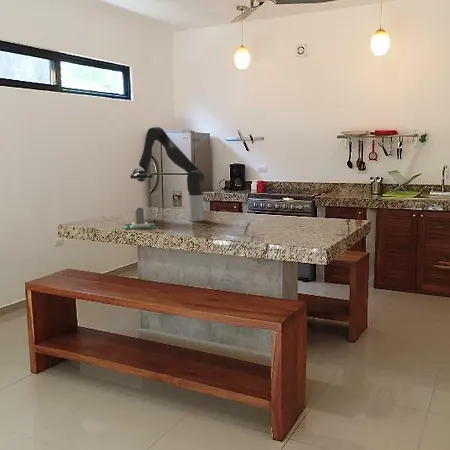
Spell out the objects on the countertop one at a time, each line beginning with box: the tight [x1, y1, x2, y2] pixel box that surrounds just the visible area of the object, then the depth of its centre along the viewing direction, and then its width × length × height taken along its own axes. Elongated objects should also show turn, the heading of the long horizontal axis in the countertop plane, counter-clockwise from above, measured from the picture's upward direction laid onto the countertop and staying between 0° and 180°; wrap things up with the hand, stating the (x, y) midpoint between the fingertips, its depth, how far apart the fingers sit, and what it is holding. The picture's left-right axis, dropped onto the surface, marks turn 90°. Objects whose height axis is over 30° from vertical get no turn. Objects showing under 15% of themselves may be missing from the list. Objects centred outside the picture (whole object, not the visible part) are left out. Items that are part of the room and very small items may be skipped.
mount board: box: [124, 221, 156, 230], centre depth 314 cm, size 18×14×3 cm
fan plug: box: [134, 207, 145, 224], centre depth 313 cm, size 5×4×11 cm
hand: (141, 177), depth 326 cm, fingers open, 8 cm apart
